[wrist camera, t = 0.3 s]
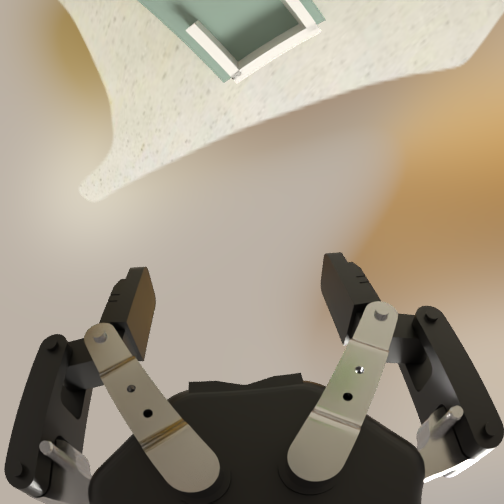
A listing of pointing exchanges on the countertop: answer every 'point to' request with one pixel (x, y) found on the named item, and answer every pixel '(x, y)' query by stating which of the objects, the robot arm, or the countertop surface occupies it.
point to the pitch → (228, 23)
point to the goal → (263, 53)
